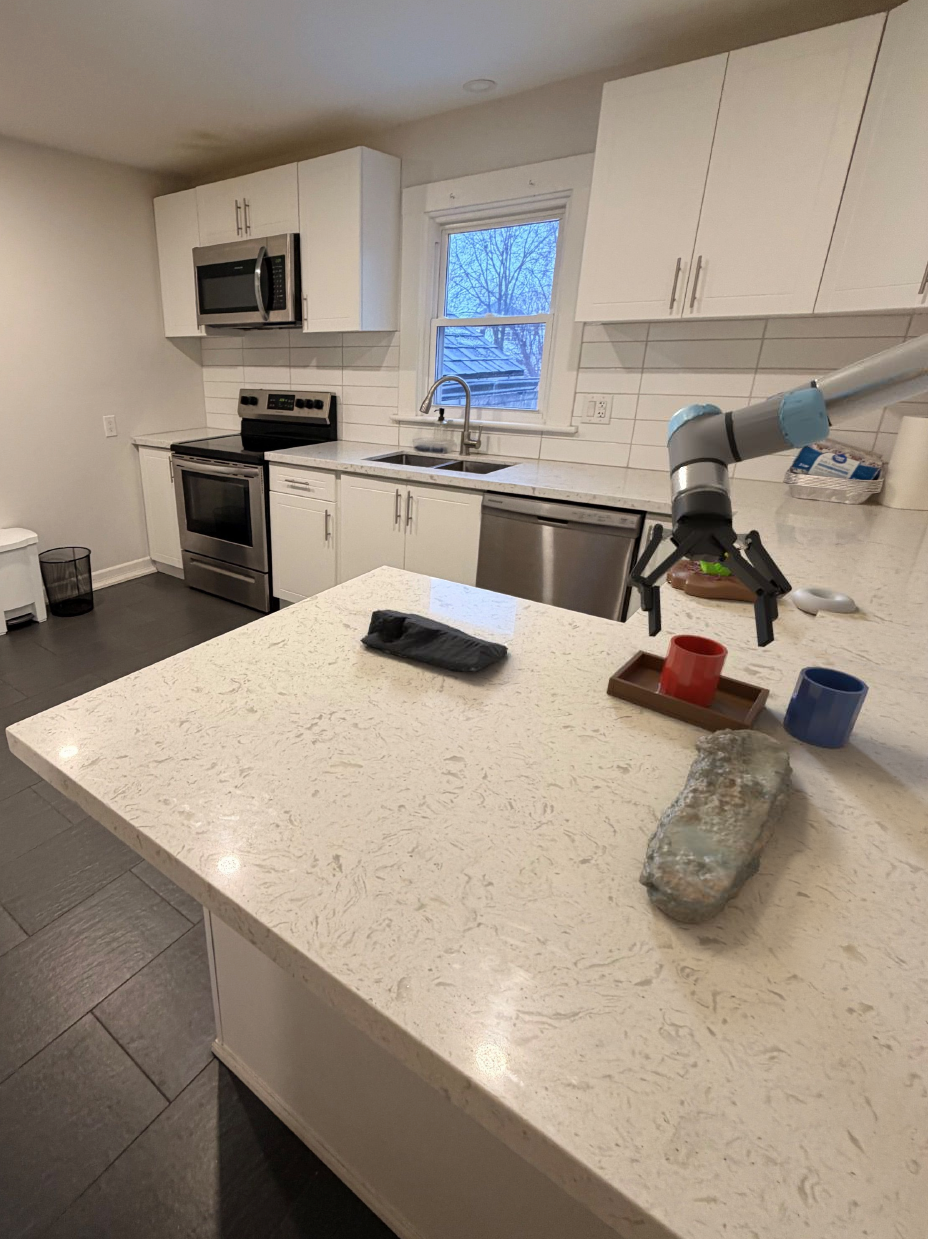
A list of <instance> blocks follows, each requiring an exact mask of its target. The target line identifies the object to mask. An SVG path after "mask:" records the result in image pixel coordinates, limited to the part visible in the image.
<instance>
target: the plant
mask: <svg viewBox="0 0 928 1239" xmlns="http://www.w3.org/2000/svg"><path fill="white" fill-rule="evenodd" d="M736 548H737V549H738V550H739V551H742V550H741V549H740V546H739V547H736ZM725 556H726V557H728V556H729V555H728V553H727V552H726V553H725ZM746 560H747V561H748V562H749V559H746ZM669 581H671V582H670V583H669ZM665 582H666V583H669V584H670V586H671V588H674V589H678V590H682V591H683V593H685V594H688V595H691V596H695V597H699V598H704V599H725V600H735V601H743V602H749V603H754V601H756V600H757V599H758V597H757V596H756V595H755V594H754V593H753V592H751V591H750V590H749V589H748V588H747V587H746V586H745V585H744V584H743V583H742V582H741V581H740V580H739V579H738V578H737V577H736V576H735V575H734V574H733V573H732V572H731V571H730V570H729V569H728V568H726V567H722V566H721V565H720V564H719V563H718V562H717V561H715V562H714V563H709V562H704V561H696V562H695V561H690V559H683V558H682V559H681V560H680V561H679V562H678V563H676V564H675V565H674V566H673V567H672V568H671V569H670V570H669V571H668V572H667V573H666V578H665Z"/></svg>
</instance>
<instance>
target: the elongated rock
mask: <svg viewBox="0 0 928 1239" xmlns="http://www.w3.org/2000/svg"><path fill="white" fill-rule="evenodd" d="M694 749H695V750H696V751H697V753H698V754H697V756H696V757H695V758H694V759H693V761H692V762H691V763H690V767H689V768H690V769H689V773H688V774H687V777H686V780H685V783H684V787H683V789H682V791H680V792H679V793H678V795H677V796H676V798H675V799H673V800H672V802H671V803H670V806H668V807H667V808H666V809H665V811H664V812H663V813H662V815H661V816H660V818H659V822H658V823H657V826H656V829H655V830H654V831H653V832H652V833H651V835H650V837H649V838H647V847H646V851H645V859H644V861H643V863H642V865H643V866H642V869H641V872H640V875H639V878H638V882H639V884H640V885H642V886H644V887H645V888H646V894H647V897H648V898H649V900H650V901H651V902H652V903H653V904H654V905H655V907H657V908H658V909H659V910H660V911H662V912H663V913H664V914H665V915H668V917H669V916H670V917H671V918H673V919H675V920H676V921H680V922H682V923H687V924H688V923H689V924H693V925H703V924H704V923H706V922H707V921H709V920H710V919H713V918H716V917H718V916H720V914H721V913H724V912H725V909H724V907H725V906H726V903H727V902H729V901H731V900H735V899H737V898H738V897H739V895H740V894H741V893H742V888H743V887H745V885H746V881H747V880H749V879H751V878H752V877H754V876H755V874H756V875H757V873H758V872H759V871H760V868H761V866H760V865H761V859H762V852H763V850H764V849H765V847H766V846H767V844H768V843H769V841H770V839H771V838H772V836H773V834H774V832H775V829H776V827H777V825H778V820H781V819H782V817H783V816H782V813H783V811H784V810H786V809H787V805H788V804H789V802H790V800H791V795H790V793H791V791H792V790H793V789H792V788H793V785H792V784H793V780H792V779H791V775H792V773H793V770H794V769H793V767H792V766H791V764H790V763H791V762H790V759H791V756H790V753H789V752H788V751H787V749H786V747H785V746H784V745H783V744H782V743H781V742H780V741H779V740H777V739H775V738H774V737H772V736H770V735H768V734H766V733H763V732H760V731H758V730H754V729H753V730H752V729H751V730H738V731H737V730H735V731H733V730H731V729H728V728H727V729H726V730H720V731H719V730H717V731H716V732H713V734H710V735H708V736H706V735H703V736H700V737H698V739H697V740H696V742H695V744H694Z"/></svg>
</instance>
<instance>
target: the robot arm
mask: <svg viewBox="0 0 928 1239" xmlns="http://www.w3.org/2000/svg"><path fill="white" fill-rule="evenodd" d="M927 392H928V332H927V333H925V334H924V333H923V334H922V335H920V336H917V337H915V338H912V339H909V340H907V341H905V342H903V343H900V344H898V345H895V346H893V347H891V348H888V349H886V350H882V351H880V352H878V353H876V354H874V355H870V356H868V357H866V358H864V359H861V360H858V361H855V362H853V363H852V364H849V365H847V366H844V367H842V368H839V369H837V370H834V371H832V372H830V373H827V374H824V375H822V376H820V377H818V378H815V379H813V380H811V381H808V382H805V383H802V384H800V385H797V386H796V387H793V388H790V389H789V390H785V391H782V392H778V393H776V394H773V395H772V396H769V397H767V399H766V400H763V401H761V402H757V403H754V404H751V405H748V406H745V407H742V408H738V409H736V410H730V411H728V412H727V411H726V412H723V411H722V409H721V408H720V407H718V406H717V405H715V404H712V403H704V404H701V405H700V404H698V403H696V404H692V405H688V406H685V407H683V408H681V409H680V410H679V411H677V412H676V413H675V414H673V416H672V417H671V418H670V420H669V422H668V436H667V437H668V438H667V445H666V446H667V451H668V464H669V480H670V481H669V483H670V484H669V485H670V503H671V507H670V510H671V511H670V512H671V527H672V528H665V527H664V526H663V524H661V523H655V524H654V525H653V527H652V528H651V530H650V532H648V538H647V545H646V546H645V548H644V550H643V551H642V553H641V555H640V557H639V558H638V560H637V562H636V564H634V567H633V568H632V570H631V572H630V573H629V575H628V577H627V579H626V580H625V585H626V586H627V587H628V588H629V587H630V588H631V587H634V588H636V590H637V592H638V594H640V596H639V597H640V610H641V612H647V618H648V619H647V620H648V622H647V623H648V637H653V638H655V637H656V636H657V635H658V634H660V632H662V609H661V606H662V605H661V586H660V585H655V584H656V583H657V582H658V581H659V580H661V579H662V578H663V577H664V576H665V575H667V572H668V571H669V570H670V569H671V568H672V567H673V566H674V565H675V564H676V563H678V562H679V561H680V560H681V559H683V558H685V559H686V560H690V561H695V562H696V561H704V562H709V563H714V562H715V561H717V562H718V563H719V564H720V565H721V566H722V567H726V568H728V569H729V570H730V571H731V572H732V573H733V574H734V575H735V576H736V577H737V578H738V579H739V580H740V581H741V582H742V583H743V584H744V585H745V586H746V587H747V588H748V589H749V590H750V591H751V592H753V593H754V594H755V595H756V596H757V597H758V599H757V600H756V601H754V602H753V610H754V620H755V630H756V631H755V632H756V641H757V647H759V648H765V647H767V646H769V645H770V644H771V643H773V642H774V641H775V634H774V625H773V624H774V622H775V621H777V620H778V618H779V609H778V608H779V607H778V600H781V599H783V598H784V597H785V596H787V595H788V594H790V593H791V591H792V590H793V586H792V585H791V583H790V582H789V580H788V579H787V578H786V576H785V575H784V573H783V572H782V570H781V569H780V568H779V566H778V565H777V563H776V562H775V560H774V559H773V558H772V557H771V555H770V554H769V552H768V551H767V549H766V548H765V546H764V545H763V543H762V539H761V534H760V532H759V531H758V530H756V529H752V530H750V531H749V532H747V533H737V532H736V531H735V529H734V527H733V522H734V521H733V520H734V519H733V509H732V500H731V485H730V476H729V465H733V464H737V463H742V462H744V461H747V460H752V459H753V460H754V459H757V458H760V457H765V456H770V455H774V454H778V453H782V452H786V451H791V450H794V449H796V450H797V449H802V448H804V447H807V446H809V445H814V444H817V443H820V442H823V441H825V440H826V439H828V437H829V436H830V430H831V429H830V428H831V427H833V426H835V425H839V424H842V423H844V422H847V421H850V420H852V419H856V418H859V417H861V416H863V415H866V414H869V413H873V412H874V411H878V410H880V409H883V408H886V407H889V406H891V405H893V404H896V403H897V404H898V403H900V402H902V401H906V400H908V399H911V398H914V397H916V396H920V395H922V394H925V393H927ZM668 539H669V541H670V542H671V543H672V545H674V547H675V548H676V549H675V550H673V551H672V552H671V553H670V554H669V555H668V556H667V557H666V558H665V559H664V560H663V561H662V562H661V563H660V564H659V565H658V566H656V568H654V569H653V570H652V571H651V572H650V573H649V574H648V575H647V576H646V577H645V576H643V575H642V574H643V573H644V571H645V569H646V568H647V566H648V565H649V562H650V561H651V559H652V557H653V556H654V554H655V552H656V550H657V549H658V548H659V546H660V544H661V545H662V544H664V543H665V542H666V540H668ZM734 544H737V545H738V546H739V547H740V549H741V550H738V549H737V548H738V547H737V546H735V545H734ZM741 551H743V552H744V554H745V556H746V558H744V557H743V555H742V553H741ZM726 552H727V553H728V555H729V556H728V557H726V556H725V553H726ZM747 560H748V561H747Z"/></svg>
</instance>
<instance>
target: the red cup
mask: <svg viewBox="0 0 928 1239" xmlns="http://www.w3.org/2000/svg"><path fill="white" fill-rule="evenodd" d="M667 646H668V647H667V650H666V654H665V657H664V658H665V662H664V666H663V670H662V674H661V678H660V681H659V687H658V691H659V692H660V693H663V694H666V695H669V696H672V697H675V698H678V699H681V700H684V701H686V702H689V703H692V704H695V705H698V706H701V707H704V708H707V707H709V706H711V705H712V704H713V701H714V699H715V695H716V692H717V689H718V685H719V682H720V678H721V675H722V674H723V672H724V668H725V665H726V661H727V658H728V654H729V651H728V648H727V647H726V646H724V645H723V644H722V643H721V642H718V641H716V640H713V639H711V638H707V637H704V636H700V635H695V634H678V635H677V634H676V635H673V636H672V637H671V638H669V642H668V645H667Z"/></svg>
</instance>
